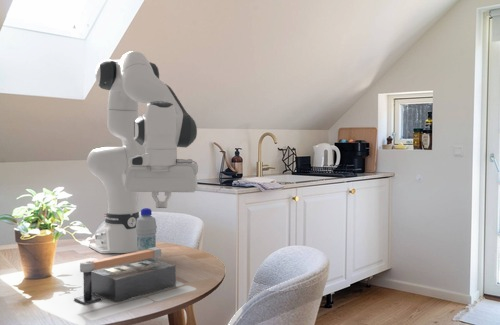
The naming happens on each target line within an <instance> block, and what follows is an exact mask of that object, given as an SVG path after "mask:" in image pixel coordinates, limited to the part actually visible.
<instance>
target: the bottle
mask: <svg viewBox="0 0 500 325" xmlns="http://www.w3.org/2000/svg"><path fill="white" fill-rule="evenodd" d="M152 215H153V214H152V209H151V208H147V207H146V208H142V209H141V210H140V216H139V218H137V222H136V234H137V251H136V252H138V251H143V250H148V248H153V247H156V248H157V246H156V244H157V243H156V242H157V241H156V240H157V239H156V236H157V235H156V234H157V229H158V227H157V221H156V220H157V219H156V217H154V216H152ZM150 259H154V260H157V258H150Z"/></svg>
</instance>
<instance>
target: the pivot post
mask: <svg viewBox="0 0 500 325" xmlns="http://www.w3.org/2000/svg"><path fill="white" fill-rule="evenodd" d="M82 273H83V277H82V278H83V295H81V296H77V297H74V298H73V299H74V300H73V301H75V302H78V303H79V304H81V305H84V306H85V305H88V304H93V303H95V302H99V301H102V297H101V296H98V295H96V294H93V293H92V282H91V272H82Z"/></svg>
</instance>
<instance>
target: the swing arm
mask: <svg viewBox="0 0 500 325" xmlns="http://www.w3.org/2000/svg"><path fill="white" fill-rule="evenodd" d="M149 258H156V259H158V258H162V248H159V247H157V246H156V247H153V248H148V250H143V251H138V252H137V251H135V252H129V253H122V254H119V255H114V256H109V257H104V258H100V259H94V260H90V261H89V260H87V261H82V262H80V263H79V271H80V273H83V272H92V271H94V270H98V269H103V268H107V267H112V266H117V265H121V264H126V263H130V262H135V261H139V260H144V259H149Z"/></svg>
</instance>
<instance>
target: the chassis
mask: <svg viewBox="0 0 500 325" xmlns="http://www.w3.org/2000/svg"><path fill="white" fill-rule="evenodd" d="M176 268H177V267H176V265H175V264H172V263H169V262H165V261H161V260H157V259H156V260H154V259H150V258H149V259H144V260H139V261H135V262H130V263H126V264H121V265H117V266H112V267H107V268H103V269H98V270H94V271H92V272H91V282H92V294H93V295H95V296H98V297H100V298H103V299H106V300H109V301H111V302H114V303H119V302H123V301H126V300H130V299H134V298H137V297H141V296H144V295H148V294H151V293H154V292H158V291H162V290H166V289H169V288H173V287H176V285H177V282H176V276H177V273H176Z"/></svg>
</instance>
